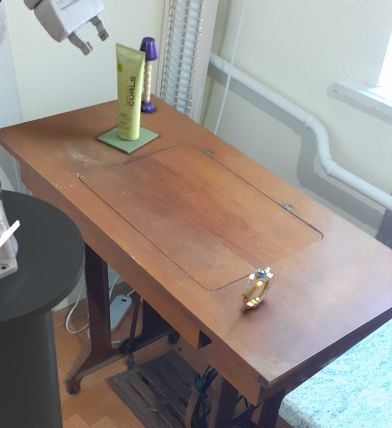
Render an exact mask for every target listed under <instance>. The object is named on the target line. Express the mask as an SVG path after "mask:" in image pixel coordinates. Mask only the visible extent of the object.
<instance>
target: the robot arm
mask: <svg viewBox="0 0 392 428" xmlns="http://www.w3.org/2000/svg"><path fill="white" fill-rule="evenodd" d="M1 2H2V0H0V3H1ZM23 4H24V5H25V7H26V8H27V9H28V10H29V11H33V14H34V16H35V18H36V20H37V21H38V22H39V24H40V25H41V26H42V28H43V29H44V30H45V32H46V33H47V34H48V35H49V36H50V37H51V39H52V40H54V41H55V42H56V43H59V44H60V43H63V42H64V41H65V40H66V39H67V40H68V41H69V42H70V44H72V45H74V46H75V47H76V48H77V49H79V50H80V51H81V53H82V54H83V55H84V56H88V55H89V54H90V53H91V52H93V50H94V48H93V46H92V45H91V43H90V42H89V41H86V40H85V39H84V38H83V37H82V36H80V35H81V32H79V31H78V30H80V29H81V28H83V27H84V26H86V25H88V23H91V25H92V26H93V27H94V26H95V29H96V31H97V33H98V34H97V36H98V38H99V39H100V40H101V41H102V42H105V41H107V40H108V38H110V36H111V34H110V32H109V30H108V29H107V27H106V25H105V22H104V18H103V17H102V15H101V13H102V12H103V11H104V10H105V9H106V7H105V3H104V0H23ZM6 27H7V25H6V19H5V15H4V12H3V9H2V6H0V47H1V46H2V44H3V42H4V40H5V37H6V29H7V28H6ZM2 190H3V187H2V180H0V279H1V278H3V277H6V276H8V275H10V274H12V273H14V272H16V271H17V269H18V265H17V262H16V259H15V258H16V254H17V250H18V243H17V240H16V238H15V237H14V235H13V232H14V230H15V229H16V228H17V227H18V226H19V221H16V222H15V224H14V225H13V226H12V227H11V228H10V226H9V224H8V221H7V218H6V215H5V212H4V208H3V204H2V200H1V199H2V195H3V192H2Z"/></svg>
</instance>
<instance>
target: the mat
mask: <svg viewBox="0 0 392 428" xmlns="http://www.w3.org/2000/svg"><path fill="white" fill-rule="evenodd" d="M157 137H159V133H157V132H155V131H152V130H150V129H147V128H145V127H143V126H141V125H140V126H139V137H138V139H136V140H132V141H129V140H124V139H121V138H120V137H119V136H118V126H117V127H115V128H113V129H111V130H109V131H107V132H105V133H104V134H101V135H99V136H98V137H97V140H98V141H100V142H102V143H104V144H106V145H109V146H111V147H113V148H115V149H118V150H120V151H122V152H124V153H126V154H130V153H133V152H134V151H136V150H138V149H139V148H140V147H142V146H144V145H146V144H147V143H149V142H150V141H152V140H154V139H156V138H157Z"/></svg>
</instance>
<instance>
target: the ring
mask: <svg viewBox="0 0 392 428" xmlns="http://www.w3.org/2000/svg"><path fill="white" fill-rule="evenodd" d="M270 269H271V268H269V267H267V268H266V267H264V268H263V267H260V268H259V267H256V268H254V269H253V270H252V272H251V274H250V275H249V278H248V280H247V282H246V284H245V286H244V288H243V291H242V294H241V297H240V303H241V305H242V306H243V307H244V308H245V309H247V310H248V309H254V308H256V307H257V305H259V304H260V303H261V302H262V301H263V300H264V299H265V298H266V296H267V295H268V293H269V292H270V290H271V288H272V286H273V284H274V278H275V277H274V276H275V275H274V274H273V273H271V272H270ZM254 280H257V281H258V282H257V283H256V284H255V285H254V286H253V287H252V288H251V286H252V284H253V282H254ZM263 284H264V286H263V288H262V290H261V292H260V293H259V295H258V296H257V297H256V298H255V299H252V300H250V298H251V297H252V296H253V294H254V293H255V292H256V291H257V290H258V288H259V287H260V286H261V285H263ZM249 300H250V302H249Z"/></svg>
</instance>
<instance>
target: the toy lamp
mask: <svg viewBox="0 0 392 428" xmlns="http://www.w3.org/2000/svg"><path fill="white" fill-rule="evenodd" d="M157 47H158V46H157V43H156V39H155V38H154V37H151V36H144V37H143V38H142V40H141V43H140V46H139V51H142V52H145V60H144V69H143V85H142V88H143V91H142V94H143V96H142V100H141V107H140V112H142V113H147V114H148V113H153V112H154V111H155V105H154V103H153V102H152V101H151V97H150V96H151V88H152V87H151V85H152V84H151V83H152V78H151V77H152V69H153V68H152V67H153V66H152V63H153V61H157V60H158V58H159V53H158V48H157Z"/></svg>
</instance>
